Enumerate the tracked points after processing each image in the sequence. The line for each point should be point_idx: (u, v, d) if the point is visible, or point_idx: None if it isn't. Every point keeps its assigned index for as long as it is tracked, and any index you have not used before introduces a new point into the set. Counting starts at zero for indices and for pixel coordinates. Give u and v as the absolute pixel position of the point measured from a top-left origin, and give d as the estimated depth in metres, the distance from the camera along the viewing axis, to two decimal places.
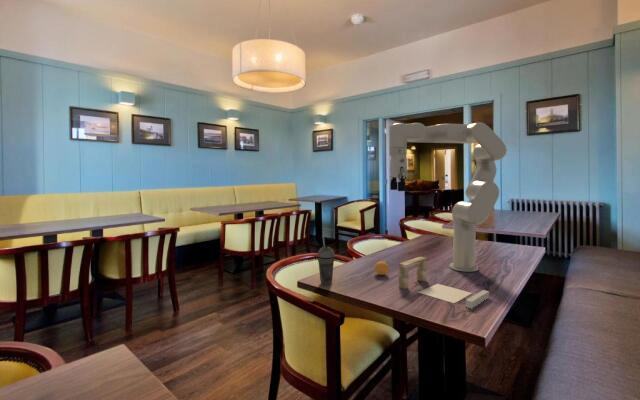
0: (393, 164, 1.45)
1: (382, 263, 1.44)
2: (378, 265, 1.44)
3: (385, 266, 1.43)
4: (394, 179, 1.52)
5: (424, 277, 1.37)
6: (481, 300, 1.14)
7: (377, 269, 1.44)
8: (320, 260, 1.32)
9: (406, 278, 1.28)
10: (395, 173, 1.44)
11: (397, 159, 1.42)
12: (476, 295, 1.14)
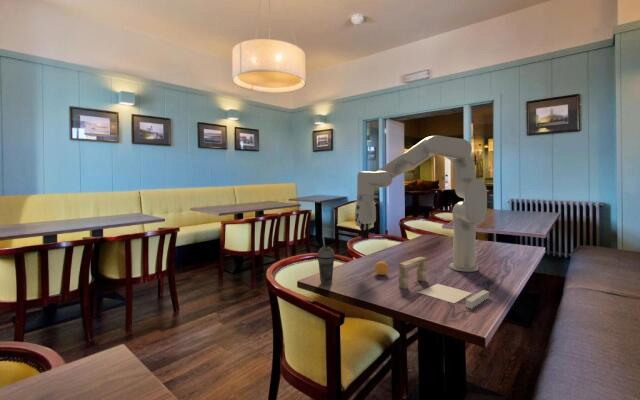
0: None
1: (382, 263, 1.44)
2: (378, 265, 1.44)
3: (385, 266, 1.43)
4: (366, 226, 1.52)
5: (424, 277, 1.37)
6: (481, 300, 1.14)
7: (377, 269, 1.44)
8: (320, 260, 1.32)
9: (406, 278, 1.28)
10: None
11: (356, 206, 1.49)
12: (476, 295, 1.14)
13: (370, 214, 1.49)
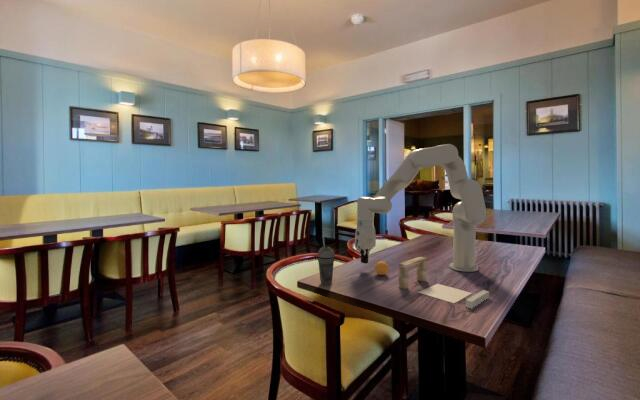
0: None
1: (382, 263, 1.44)
2: (378, 265, 1.44)
3: (385, 266, 1.43)
4: (366, 251, 1.53)
5: (424, 277, 1.37)
6: (481, 300, 1.14)
7: (377, 269, 1.44)
8: (320, 260, 1.32)
9: (406, 278, 1.28)
10: None
11: None
12: (476, 295, 1.14)
13: (370, 239, 1.50)
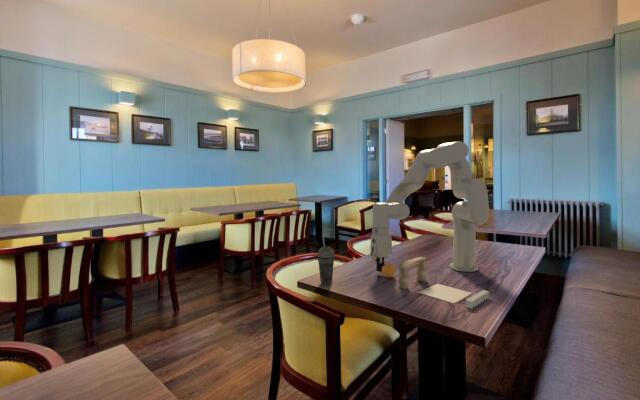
0: None
1: (392, 271, 1.40)
2: (387, 271, 1.40)
3: (392, 275, 1.40)
4: (382, 259, 1.46)
5: (424, 277, 1.37)
6: (481, 300, 1.14)
7: (384, 272, 1.41)
8: (320, 260, 1.32)
9: (406, 278, 1.28)
10: None
11: (371, 238, 1.43)
12: (476, 295, 1.14)
13: (386, 247, 1.43)
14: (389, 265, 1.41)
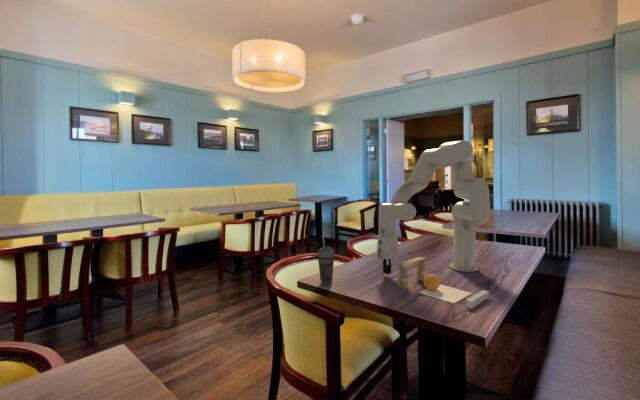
0: None
1: (436, 287, 1.24)
2: (432, 285, 1.24)
3: (434, 289, 1.26)
4: None
5: (424, 277, 1.37)
6: (481, 300, 1.14)
7: (427, 284, 1.25)
8: (320, 260, 1.32)
9: (406, 278, 1.28)
10: None
11: None
12: (476, 295, 1.14)
13: (393, 248, 1.41)
14: (436, 280, 1.24)
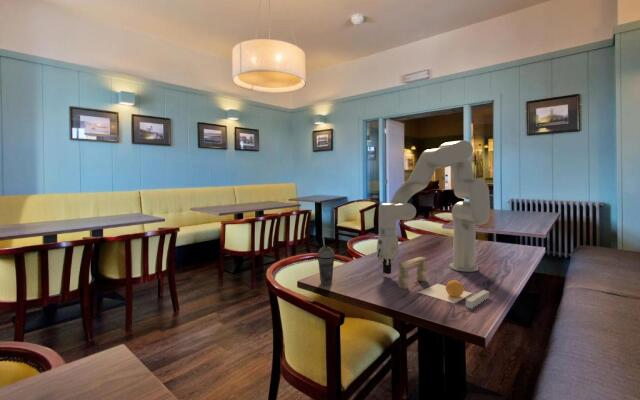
0: None
1: None
2: (447, 288, 1.20)
3: (449, 281, 1.21)
4: None
5: (424, 277, 1.37)
6: (481, 300, 1.14)
7: (451, 289, 1.18)
8: (320, 260, 1.32)
9: (406, 278, 1.28)
10: None
11: None
12: (476, 295, 1.14)
13: (393, 248, 1.41)
14: None
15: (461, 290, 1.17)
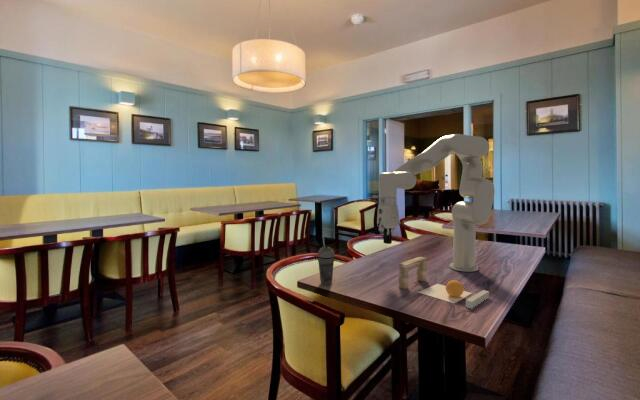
0: None
1: None
2: (447, 288, 1.20)
3: (449, 281, 1.21)
4: (389, 231, 1.43)
5: (424, 277, 1.37)
6: (481, 300, 1.14)
7: (451, 289, 1.18)
8: (320, 260, 1.32)
9: (406, 278, 1.28)
10: None
11: (378, 209, 1.40)
12: (476, 295, 1.14)
13: (393, 218, 1.40)
14: None
15: (461, 290, 1.17)
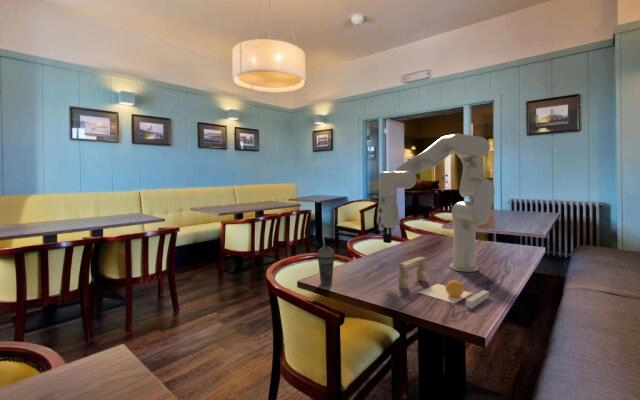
0: None
1: None
2: (447, 288, 1.20)
3: (449, 281, 1.21)
4: (389, 230, 1.42)
5: (424, 277, 1.37)
6: (481, 300, 1.14)
7: (451, 289, 1.18)
8: (320, 260, 1.32)
9: (406, 278, 1.28)
10: None
11: (378, 208, 1.40)
12: (476, 295, 1.14)
13: (393, 217, 1.40)
14: None
15: (461, 290, 1.17)
